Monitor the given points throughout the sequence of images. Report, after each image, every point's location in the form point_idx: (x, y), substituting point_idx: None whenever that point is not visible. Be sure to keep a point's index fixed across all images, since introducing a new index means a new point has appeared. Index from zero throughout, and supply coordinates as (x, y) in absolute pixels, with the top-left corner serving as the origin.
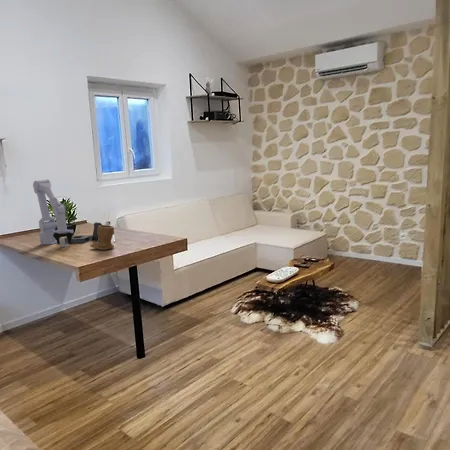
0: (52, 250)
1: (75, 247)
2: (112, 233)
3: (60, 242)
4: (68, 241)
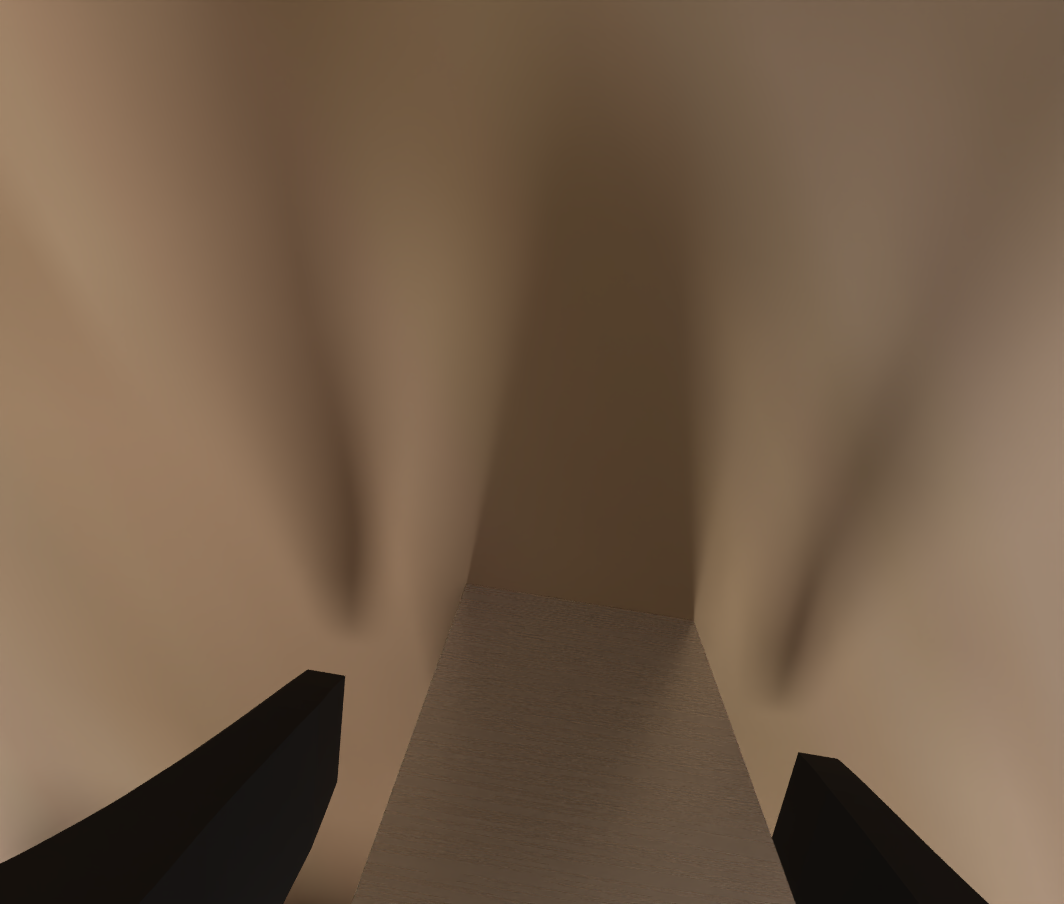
0: (848, 71)
1: (12, 398)
2: None
3: (695, 744)
4: (249, 731)
